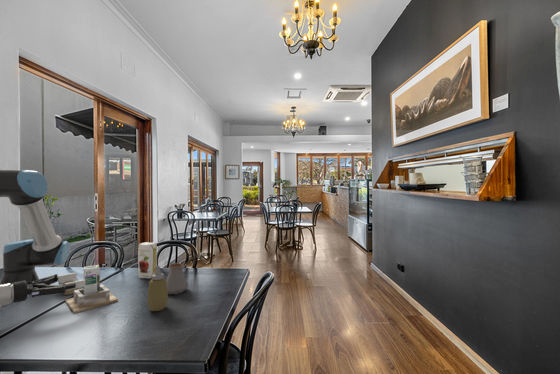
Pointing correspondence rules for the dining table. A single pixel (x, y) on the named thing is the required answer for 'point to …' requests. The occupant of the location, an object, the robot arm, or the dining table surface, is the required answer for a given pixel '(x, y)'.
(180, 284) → the coffee pot
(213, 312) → the dining table surface
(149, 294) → the squeeze bottle
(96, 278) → the syrup box
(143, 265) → the juice carton
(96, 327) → the dining table surface
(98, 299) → the collar socket
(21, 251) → the robot arm
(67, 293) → the grey tan cylinder
